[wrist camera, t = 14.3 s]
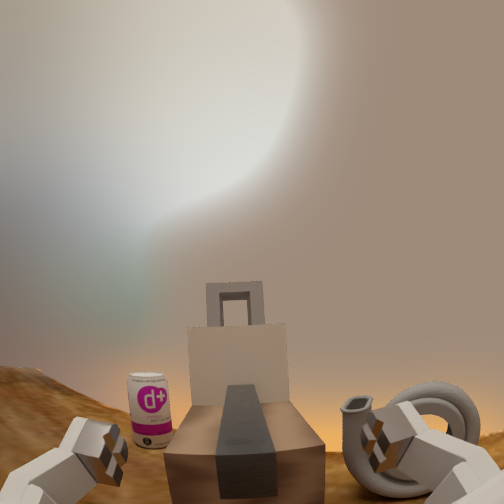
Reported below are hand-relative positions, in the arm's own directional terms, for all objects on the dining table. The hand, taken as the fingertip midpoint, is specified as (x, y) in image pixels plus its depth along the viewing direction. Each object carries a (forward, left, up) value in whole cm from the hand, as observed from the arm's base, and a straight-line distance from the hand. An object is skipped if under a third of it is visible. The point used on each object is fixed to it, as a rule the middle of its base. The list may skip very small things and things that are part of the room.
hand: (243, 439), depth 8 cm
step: (0, +19, -20) cm, 28 cm away
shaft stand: (0, +32, -20) cm, 38 cm away
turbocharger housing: (+19, +19, -20) cm, 34 cm away
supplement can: (-18, +47, -20) cm, 54 cm away
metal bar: (0, +15, -6) cm, 16 cm away
